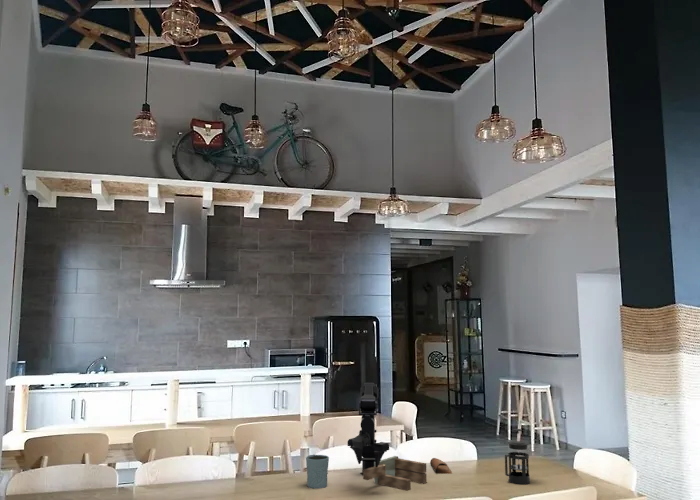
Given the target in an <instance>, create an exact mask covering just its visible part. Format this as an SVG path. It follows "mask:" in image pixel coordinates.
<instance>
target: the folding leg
mask: <svg viewBox="0 0 700 500" xmlns="http://www.w3.org/2000/svg"><path fill="white" fill-rule="evenodd" d="M384 474H386V464H380V465H378V467H376V466H374V467H371V468H368V469H365V470H363V474H362V479H363V480H364V481H369V480H372V479H373V480H374V478H376V477H379V476H382V475H384Z"/></svg>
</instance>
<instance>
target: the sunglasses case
mask: <svg viewBox="0 0 700 500" xmlns="http://www.w3.org/2000/svg"><path fill="white" fill-rule="evenodd" d="M429 463H430V465H431V467H432V468H433V470H434V472H435V473H436V475H439V474H440V475H442V474H445V475H446V474H447V475H449V474H453V472H452V470H451V469H450V467H449V466H448V464H447V463H446V462H444V460H443V461H442V460H441V459H439V458H436V457H433V458H431V459H430V462H429Z"/></svg>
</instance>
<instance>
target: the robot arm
mask: <svg viewBox="0 0 700 500" xmlns="http://www.w3.org/2000/svg"><path fill="white" fill-rule="evenodd" d="M378 398H379V387H378V386H376V385H375V383H374V382H364V383H363V385H362V386H360V400H359V402H358V403H359V406H358V416H361V419H360V420H361V422H360V428H361V429H360V430H359V432H358V435H356V436H355V437H352V438H348V440H347V447H349V448H350V449H351V450H352V451H353V452H354V455H355V457H356V461H357V463H358V465H360V464H362V465H361V466H362V467H361V468H362V469H361V470H362V472H360V473H359V474H360V475H363V470H365V469H368V468H371V467H374V462H375V466H376V467H378V465H379V463H380V460H382V457H383V456H384V454H385V453H386V452H387V451H389V450H390V445H389V443H388V442H384V441H380V442H377V439H375V436H376V435H375V434H376V433H377V429H376V427H375V420H376V419H375V416H378V415H377V414H379V403H378Z"/></svg>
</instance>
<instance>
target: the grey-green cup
mask: <svg viewBox="0 0 700 500" xmlns="http://www.w3.org/2000/svg"><path fill="white" fill-rule="evenodd" d="M329 459H330V457H329V456H328V455H325V454H310V455H307V456H306V457H305V464H306V474H307V475H306V483H307V487H308V488H310V489H324V488H327V486H328V474H329V472H328V471H329Z"/></svg>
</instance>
